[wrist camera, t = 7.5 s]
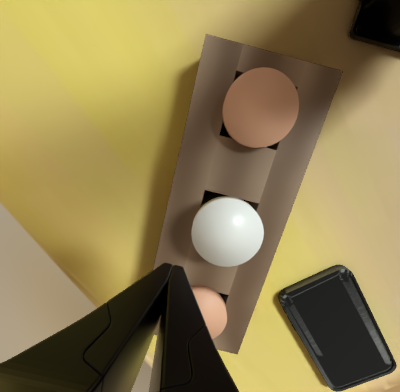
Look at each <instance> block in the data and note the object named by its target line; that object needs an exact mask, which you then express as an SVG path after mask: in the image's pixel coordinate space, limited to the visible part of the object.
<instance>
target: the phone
mask: <svg viewBox="0 0 400 392" xmlns="http://www.w3.org/2000/svg"><path fill="white" fill-rule="evenodd" d="M279 301H280V303H281V305H282V307H283V310H284V311H285V313H286V314H287V317H288V318H289V320H290V322H291V323H292V326H293V327H294V329H295V331H297V333H298V334H299V336H300V338H301V340H302V341H303V343H304V345H305V347H306V348H307V350H308V352H309V353H310V355H311V357H312V359H313V360H314V362H315V364H316V365H317V367H318V369H319V371H320V372H321V374H322V376H323V378H324V379H325V381H326V383H327V384H328V386H329V388H330V389H331V390H333V391H343V390H346V389H349V388H351V387H354V386H357V385H360V384H363V383H365V382H368V381H371V380H374V379H376V378H379V377H382V376H385V375H387V374H390V373H392V372H393V371H394V370H395V369H396V362H395V360H394V358H393V356H392V354H391V352H390V350H389V348H388V346H387V343H386V341H385V339H384V337H383V335H382V333H381V331H380V329H379V327H378V325H377V323H376V321H375V319H374V316H373V314H372V312H371V310H370V308H369V306H368V304H367V302H366V300H365V298H364V296H363V294H362V291H361V289H360V287H359V285H358V283H357V281H356V279H355V277H354V275H353V273H352V272H351V271H350V270H349V269H347V268H346V267H345V266H343V265H335V266H332V267H330V268H328V269H325V270H323V271H321V272H319V273H317V274H315V275H312V276H310V277H308V278H306V279H304V280H301V281H299V282H297V283H295V284H293V285H291V286H288V287H286V288H284V289H283V290H281V292H280V293H279Z"/></svg>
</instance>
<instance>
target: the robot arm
mask: <svg viewBox="0 0 400 392" xmlns="http://www.w3.org/2000/svg"><path fill="white" fill-rule="evenodd" d="M356 28H358V29H359V32H357V30H356ZM349 33H350V36H351V38H353V39H356V40H360V41H364V42H367V43H371V44H375V45H378V46H382V47H385V48H389V49H393V50H396V51H400V0H359V7H358V9H357V12H356V15H355V18H354V20H353V23H352V26H351V29H350V32H349ZM160 317H161V318H160ZM159 320H160V322H159ZM158 323H159V328H158V335H157V341H156V348H155V355H154V361H153V368H152V375H151V381H150V388H149V392H239V391H238V389H237V387H236V385H235V383H234V381H233V379H232V378H231V376H230V374H229V372H228V370H227V368H226V366H225V365H224V363H223V361H222V359H221V357H220V355H219V353H218V351H217V349H216V347H215V344H214V342H213V340H212V337H211V335H210V333H209V330H208V328H207V326H206V323H205V320H204V318H203V315H202V313H201V310H200V308H199V305H198V303H197V300H196V298H195V295H194V293H193V290H192V288H191V285H190V283H189V280H188V278H187V275H186V273H185V270H184V268H183V267H182V266H178V265H174V266H173V264H170V263H163V264H161V265H160V266H158V267H157V268H156V269H154V270H153V271H151V272H150V273H148V274H147V275H145V276H144V277H142V278H141V279H139V280H138V281H137V282H135V283H134V284H132V285H131V286H129V287H128V288H126V289H125V290H123V291H122V292H121V293H119V294H118V295H116V296H115V297H113V298H112V299H110V300H109V301H108V302H107V303H104V304H103V305H101V306H100V307H99V308H97V309H96V310H94V311H92V312H91V313H90V314H88V315H86V316H85V317H83V318H82V319H80V320H78V321H77V322H75V323H73V324H71V325H70V326H68V327H66V328H65V329H63V330H61V331H59V332H57V333H56V334H54V335H52V336H50V337H48V338H47V339H45V340H43V341H41V342H40V343H38V344H36V345H34V346H32V347H31V348H29V349H27V350H25V351H23V352H22V353H20V354H18V355H16V356H14V357H12V358H11V359H9V360H7V361H5V362H2V363H0V392H131V390H132V388H133V385H134V383H135V380H136V377H137V375H138V373H139V370H140V368H141V365H142V363H143V360H144V358H145V355H146V353H147V350H148V348H149V345H150V343H151V340H152V338H153V335H154V333H155V331H156V328H157V325H158Z"/></svg>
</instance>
